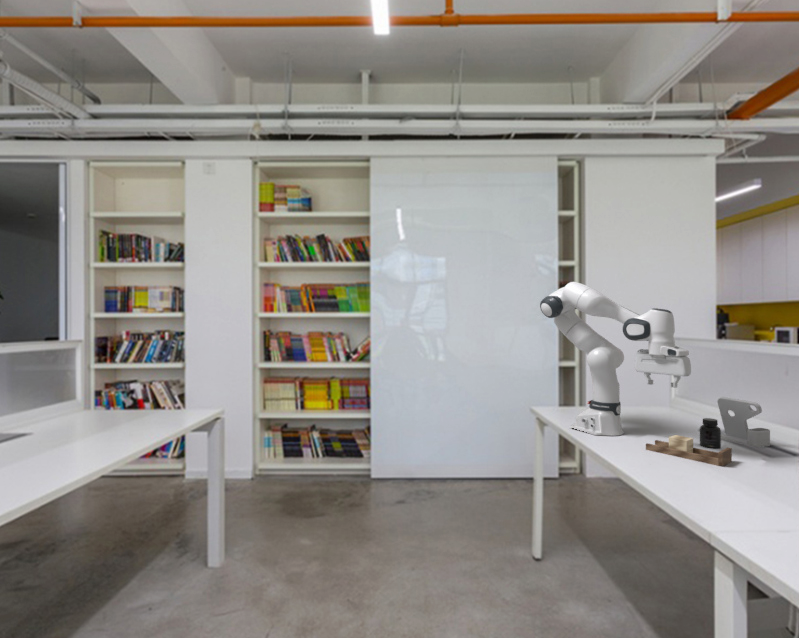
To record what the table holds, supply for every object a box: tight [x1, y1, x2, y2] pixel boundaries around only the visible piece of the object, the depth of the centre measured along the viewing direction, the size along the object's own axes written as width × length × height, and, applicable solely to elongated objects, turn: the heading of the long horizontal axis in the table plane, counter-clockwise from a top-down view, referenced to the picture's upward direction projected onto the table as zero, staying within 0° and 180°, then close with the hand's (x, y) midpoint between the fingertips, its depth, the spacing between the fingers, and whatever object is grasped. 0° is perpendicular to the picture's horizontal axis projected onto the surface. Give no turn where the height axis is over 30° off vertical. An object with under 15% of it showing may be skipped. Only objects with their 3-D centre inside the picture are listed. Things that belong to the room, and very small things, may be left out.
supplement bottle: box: [699, 417, 722, 450], centre depth 177 cm, size 7×7×12 cm
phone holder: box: [717, 396, 772, 448], centre depth 189 cm, size 17×10×18 cm, turn 21°
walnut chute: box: [645, 439, 733, 467], centre depth 165 cm, size 25×9×6 cm, turn 37°
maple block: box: [668, 434, 694, 453], centre depth 167 cm, size 6×6×6 cm
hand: (661, 385), depth 174 cm, fingers open, 8 cm apart
